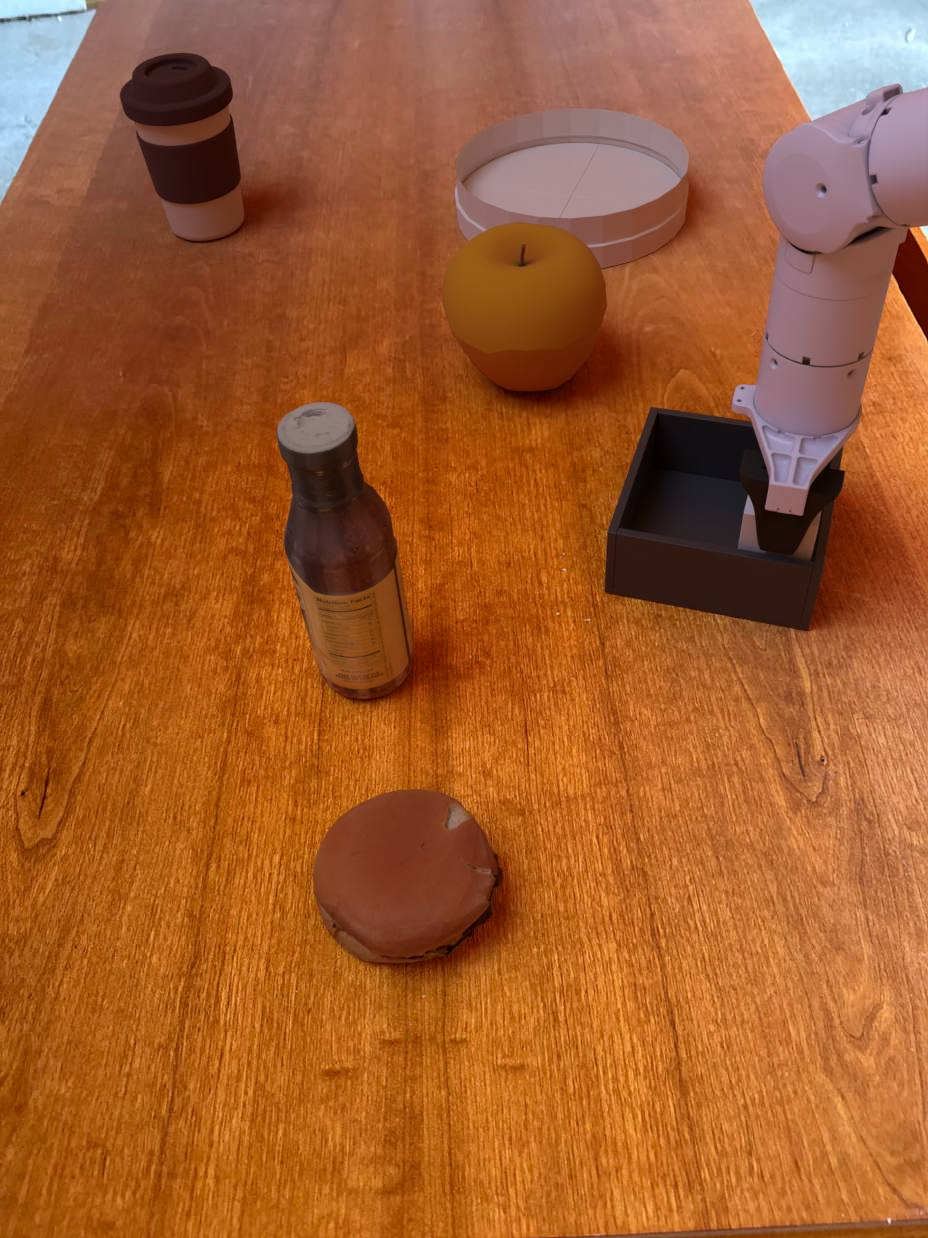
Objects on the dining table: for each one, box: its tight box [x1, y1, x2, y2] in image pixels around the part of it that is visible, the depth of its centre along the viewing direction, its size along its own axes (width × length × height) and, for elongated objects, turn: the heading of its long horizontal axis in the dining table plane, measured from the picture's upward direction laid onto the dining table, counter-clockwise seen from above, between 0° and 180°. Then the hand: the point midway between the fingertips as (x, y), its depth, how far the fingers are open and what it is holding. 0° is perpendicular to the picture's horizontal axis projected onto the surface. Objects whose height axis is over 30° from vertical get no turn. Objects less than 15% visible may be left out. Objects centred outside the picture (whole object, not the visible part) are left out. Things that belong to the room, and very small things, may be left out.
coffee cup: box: [119, 52, 245, 242], centre depth 106 cm, size 10×10×15 cm
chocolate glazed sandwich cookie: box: [312, 788, 504, 964], centre depth 60 cm, size 10×9×5 cm
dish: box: [454, 107, 690, 270], centre depth 108 cm, size 22×22×5 cm
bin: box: [604, 406, 845, 632], centre depth 76 cm, size 13×13×6 cm
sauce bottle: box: [276, 401, 414, 700], centre depth 65 cm, size 6×6×20 cm
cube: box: [738, 495, 821, 561], centre depth 70 cm, size 4×4×4 cm
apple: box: [440, 222, 608, 392], centre depth 88 cm, size 13×13×11 cm
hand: (781, 523), depth 71 cm, fingers closed on cube, 4 cm apart
